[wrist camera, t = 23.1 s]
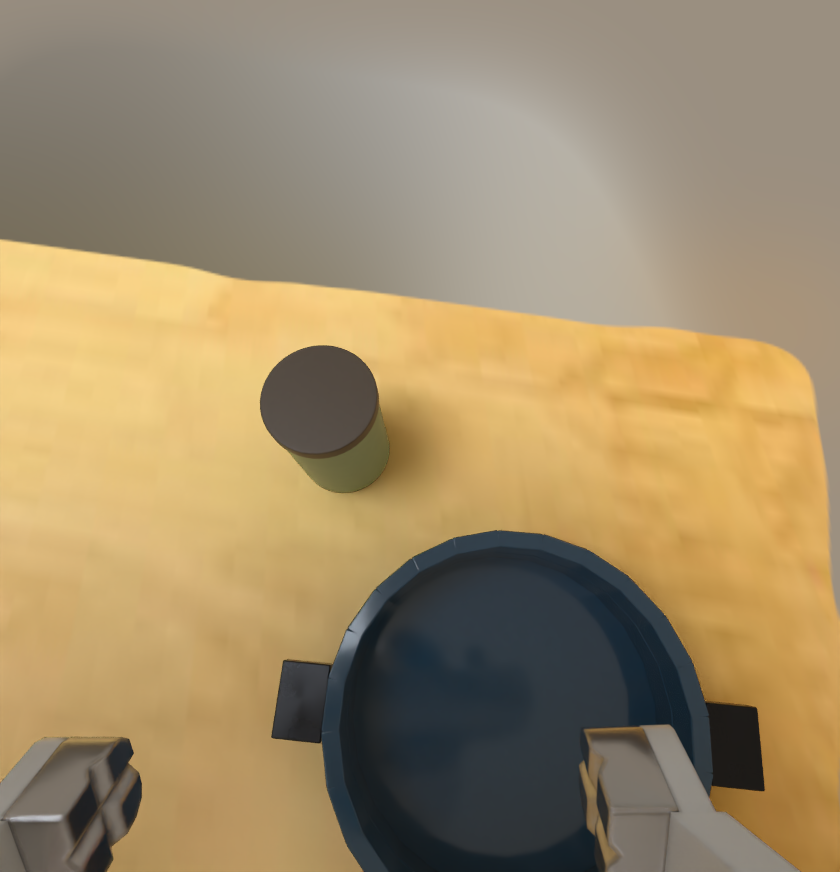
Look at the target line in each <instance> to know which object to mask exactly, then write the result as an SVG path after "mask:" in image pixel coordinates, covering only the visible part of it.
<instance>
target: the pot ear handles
mask: <svg viewBox="0 0 840 872" xmlns="http://www.w3.org/2000/svg"><path fill="white" fill-rule="evenodd" d="M332 666H333V664H331V663H321V662H311V661H301V660H291V659H287V660H284V661H283V665H282V672H281V678H280V685H279V691H278V697H277V704H276V710H275V716H274V723H273V729H272V736H271V737H272V738H274V739H283V740H292V741H301V742H311V743H321V742H322V738H321V732H322V730H321V728H322V720H323V713H324V705H325V698H326V690H327V682H328V678H329V674H330V671H331V668H332ZM705 704H706V707H707V710H708V713H709V716H708V717H709V723H710V737H711V752H712V766H713V773H712V774H713V779H712V786H717V787H727V788H736V789H745V790H754V791H765V787H764V776H763V766H762V755H761V745H760V734H759V724H758V713H757V708H756V707H752V706H749V705H741V704H731V703H721V702H711V701H705Z"/></svg>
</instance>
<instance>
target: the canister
mask: <svg viewBox="0 0 840 872" xmlns="http://www.w3.org/2000/svg"><path fill="white" fill-rule="evenodd" d="M260 410H261V416H262V419H263V422H264V424H265V426H266V428H267V430H268V431H269V433H270V434H271V436H272V437H273V438H274V439H275V440H276V441H277V442H278V443H279V444H280V445H281V446H282V447H283V448H284V449H286V450H287V451H288V452H289V453H290V454H291V456H292V457H293V458H294V459H295V460H296V461H297V463H298V464H299V465H300V466H301V467H302V468H303V470H304V471H305V472H306V473H307V474H308V475H309V477H310V478H311V479H312V480H313V481H314V482H315V483H316V484H318V485H319V486H321V487H322V488H324V489H327V490H329V491H333V492H338V493H348V492H354V491H358V490H360V489H363V488H365V487H367V486H368V485H370V484H371V483H373V482H374V481H375V480H376V479H377V478H378V477H379V476H380V474H381V473H382V471H383V470H384V468H385V466H386V464H387V461H388V457H389V440H388V436H387V432H386V428H385V425H384V421H383V417H382V413H381V409H380V405H379V394H378V390H377V386H376V382H375V379H374V376H373V374H372V373H371V371H370V369H369V368H368V366H367V365H366V364H365V363H364V362H363V361H362V360H361V359H360V358H359V357H357V356H356V355H355V354H353V353H351V352H349V351H347V350H344V349H342V348H338V347H334V346H311V347H307V348H303V349H301V350H298V351H296V352H294V353H292V354H290V355H288V356H287V357H285V358H284V359H283V360H281V361H280V362H279V363H278V364H277V365H276V366H275V367H274V368H273V370H272V371H271V372H270V374H269V375H268V377H267V379H266V381H265V383H264V386H263V389H262V392H261V398H260Z"/></svg>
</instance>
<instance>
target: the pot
mask: <svg viewBox="0 0 840 872" xmlns="http://www.w3.org/2000/svg"><path fill="white" fill-rule="evenodd" d="M708 716H709V713H708V710H707V707H706V704H705V701H704V697H703V694H702V691H701V688H700V684H699V681H698V678H697V675H696V672H695V668H694V665H693V663H692V660H691V658H690V657H689V655H688V653H687V651H686V650H685V648H684V646H683V645H682V643H681V641H680V639H679V638H678V636H677V634H676V633H675V631H674V629H673V627H672V626H671V624H670V622H669V621H668V619H667V617H666V616H665V615H664V613H663V612H662V611H661V610H660V609H659V608H658V607H657V606H656V605H655V604H654V603H653V602H652V601H651V600H650V598H649V597H648V596H647V595H646V594H645V593H644V592H643V591H642V590H641V589H640V588H639V587H638V586H637V585H636V584H635V583H634V581H633V580H632V579H631V578H629V576H627V575H626V574H624V573H623V572H621V571H620V570H618V569H617V568H615V567H614V566H612V565H611V564H609V563H608V562H606V561H605V560H603V559H602V558H600V557H599V556H597V555H595V554H594V553H592V552H591V551H589V550H587V549H585V548H582V547H579V546H576V545H573V544H570V543H567V542H565V541H562V540H559V539H556V538H553V537H550V536H548V535H543V534H537V533H525V532H513V531H502V530H499V531H497V530H495V531H489V532H483V533H478V534H472V535H467V536H461V537H456V538H453V539H450V540H448V541H446V542H443V543H441V544H439V545H437V546H435V547H433V548H431V549H429V550H427V551H424V552H422V553H420V554H418V555H416V556H414V557H412V559H409V560H408V561H407V562H406V563H405V564H403V565H402V566H401V567H400V568H399V569H397V570H396V571H395V572H394V573H393V574H392V575H390V576H389V577H388V578H387V579H386V580H385V581H383V582H382V583H381V584H380V585H379V586H377V588H376V589H375V590H374V591H373V592H372V594H371V595H370V597H369V598H368V599H367V601H366V602H365V604H364V605H363V606H362V608H361V609H360V611H359V612H358V614H357V615H356V616H355V618H354V619H353V621H352V622H351V624H350V625H349V626H348V629H347V630H346V632H345V635H344V637H343V640H342V642H341V645H340V648H339V650H338V653H337V655H336V658H335V661H334V663H333V666H332V668H331V671H330V674H329V678H328V682H327V690H326V698H325V705H324V713H323V720H322V728H321V730H322V732H321V738H322V748H323V758H324V767H325V777H326V787H327V791H328V794H329V797H330V800H331V803H332V805H333V808H334V811H335V814H336V817H337V820H338V822H339V825H340V828H341V831H342V834H343V837H344V839H345V842H346V844H347V847H348V848H349V850H350V851H351V853H352V854H353V856H354V857H355V859H356V860H357V862H358V863H359V865H360V867H361V868H362V870H363V871H364V872H599V871H598V868H597V864H596V860H595V857H594V847H595V836H594V835H593V834H592V833H591V832H590V831H589V830H588V828H587V826H586V822H585V818H584V814H583V809H582V803H581V798H580V787H579V764H580V763H581V762H582V761H583V760H584V759H583V756H582V752H581V748H580V732H581V728H582V727H608V726H640V725H670V726H671V727H672V728H673V729H674V730H675V732H676V734H677V736H678V738H679V739H680V741H681V743H682V745H683V747H684V749H685V751H686V753H687V755H688V757H689V759H690V761H691V763H692V765H693V767H694V769H695V771H696V773H697V775H698V777H699V779H700V781H701V783H702V785H703V787H704V788H705V790H706V792H707V794H708V796H710V791H711V785H712V779H713V774H712V773H713V766H712V752H711V737H710V723H709V717H708Z"/></svg>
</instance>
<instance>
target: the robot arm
mask: <svg viewBox="0 0 840 872" xmlns="http://www.w3.org/2000/svg"><path fill="white" fill-rule="evenodd" d="M580 748H581V752H582V756H583V759H584V760H583V761H582V762H581V763H580V764H579V787H580V798H581V803H582V809H583V814H584V818H585V822H586V826H587V828H588V830H589V831H590V832H591V833H592V834H593V835H594V836H595V847H594V857H595V860H596V864H597V868H598V871H599V872H801V871H799V870H798V869H797V868H796V867H794V866H793V865H792V864H791V863H789V862H788V861H787V860H786V859H784V858H783V857H782V856H781V855H779V854H778V853H777V852H776V851H774V850H773V849H772V848H771V847H769V846H768V845H767V844H766V843H764V842H763V841H762V840H761V839H759V838H758V837H757V836H756V835H754V834H753V833H752V832H751V831H749V830H748V829H747V828H746V827H744V826H743V825H742V824H741V823H739V822H738V821H737V820H736V819H734V818H733V817H732V816H730V815H729V814H728V813H727V812H716V810H715V808H714V806H713V804H712V802H711V800H710V798H709V796H708V794H707V792H706V790H705V788H704V787H703V785H702V783H701V781H700V779H699V777H698V775H697V773H696V771H695V769H694V767H693V765H692V763H691V761H690V759H689V757H688V755H687V753H686V751H685V749H684V747H683V745H682V743H681V741H680V739H679V738H678V736H677V734H676V732H675V730H674V729H673V728H672V727H671V726H670V725H640V726H608V727H582V728H581V732H580ZM133 754H134V752H133V749H132V746H131V743H130V740H129V739H127V738H123V737H44V738H42V739H41V740H39V741H37V742H35V743H34V744H33V745H32V746H31V748H30V749H29V750H28V751H27V752H26V753H25V755H24V756H23V757H22V758H21V759H20V760H19V762H18V763H17V764H16V765H15V766H14V767H13V769H12V770H11V771H10V772H9V773H8V775H7V776H6V777H5V778H4V779H3V780H2V782H1V783H0V872H107V870H108V868H109V867H110V865H111V863H112V861H113V853H112V846H113V845H114V844H115V843H117V842H118V841H119V840H120V839H121V838H123V837H124V836H125V835H126V834H128V832H129V830H130V828H131V826H132V824H133V822H134V820H135V818H136V817H137V813H138V809H139V805H140V802H141V798H142V783H141V779H140V775H139V772H138V771H137V770H135V769H134V768H133V767H132V766H131V765H130V764H129V763H128V762H129V761H130V759H131V757H132V755H133Z"/></svg>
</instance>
